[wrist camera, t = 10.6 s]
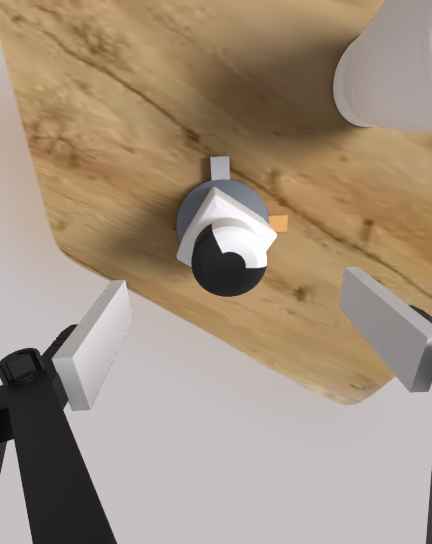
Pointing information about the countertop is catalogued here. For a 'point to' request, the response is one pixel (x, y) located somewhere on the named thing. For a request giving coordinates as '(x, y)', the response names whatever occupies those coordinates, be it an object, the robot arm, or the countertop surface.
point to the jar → (389, 69)
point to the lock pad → (231, 188)
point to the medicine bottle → (226, 245)
